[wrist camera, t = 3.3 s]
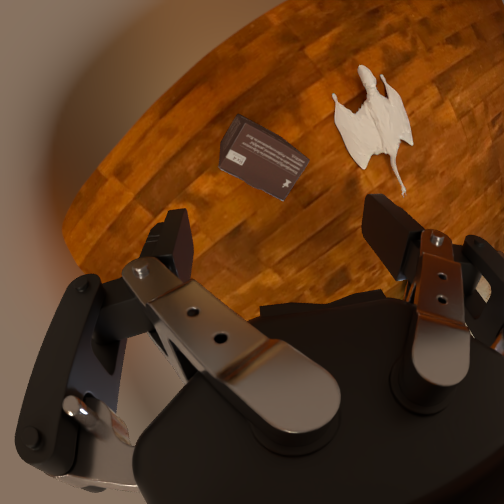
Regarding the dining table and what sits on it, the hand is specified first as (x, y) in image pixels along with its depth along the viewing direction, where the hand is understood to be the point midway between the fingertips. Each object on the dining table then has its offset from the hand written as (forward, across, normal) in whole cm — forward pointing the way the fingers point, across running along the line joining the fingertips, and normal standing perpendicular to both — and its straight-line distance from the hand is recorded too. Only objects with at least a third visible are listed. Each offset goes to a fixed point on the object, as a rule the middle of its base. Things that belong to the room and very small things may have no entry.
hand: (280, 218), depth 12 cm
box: (+22, -1, 0) cm, 22 cm away
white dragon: (+22, -17, 0) cm, 28 cm away
